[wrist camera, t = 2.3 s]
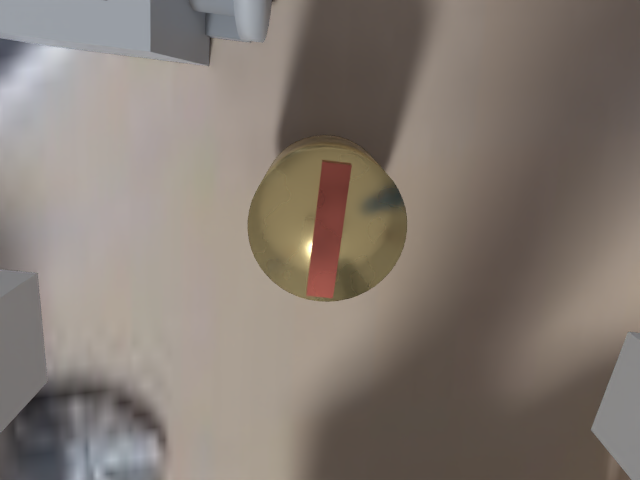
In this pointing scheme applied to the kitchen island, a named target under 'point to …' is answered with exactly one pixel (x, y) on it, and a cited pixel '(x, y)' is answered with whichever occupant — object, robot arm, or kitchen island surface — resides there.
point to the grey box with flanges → (136, 25)
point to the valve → (326, 220)
